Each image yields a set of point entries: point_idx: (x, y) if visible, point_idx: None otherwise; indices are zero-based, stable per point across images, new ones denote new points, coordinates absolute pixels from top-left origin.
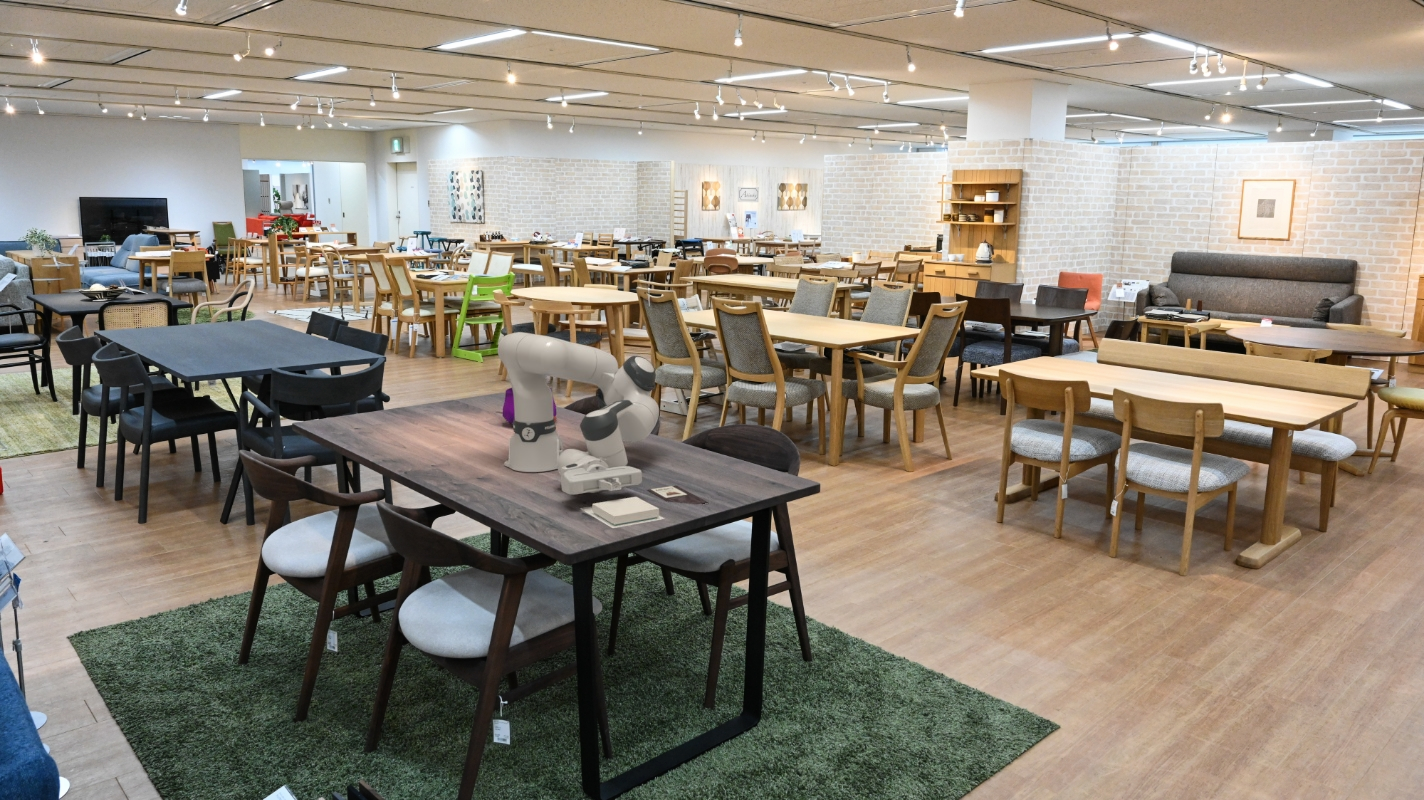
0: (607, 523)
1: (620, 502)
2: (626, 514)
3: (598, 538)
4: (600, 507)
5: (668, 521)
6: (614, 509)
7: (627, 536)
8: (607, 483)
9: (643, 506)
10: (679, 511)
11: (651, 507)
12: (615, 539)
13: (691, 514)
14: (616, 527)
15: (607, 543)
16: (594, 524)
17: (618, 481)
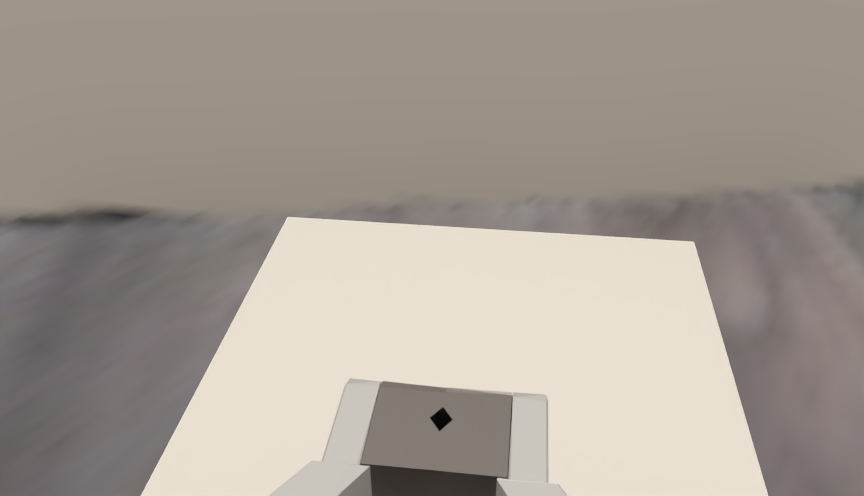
0: None
1: None
2: (580, 236)
3: (842, 249)
4: (741, 464)
5: None
6: (617, 351)
7: (652, 207)
8: (549, 491)
9: (340, 290)
10: (7, 351)
11: (310, 250)
12: (738, 206)
13: (35, 275)
14: None
15: (802, 190)
16: (815, 461)
17: (329, 442)
